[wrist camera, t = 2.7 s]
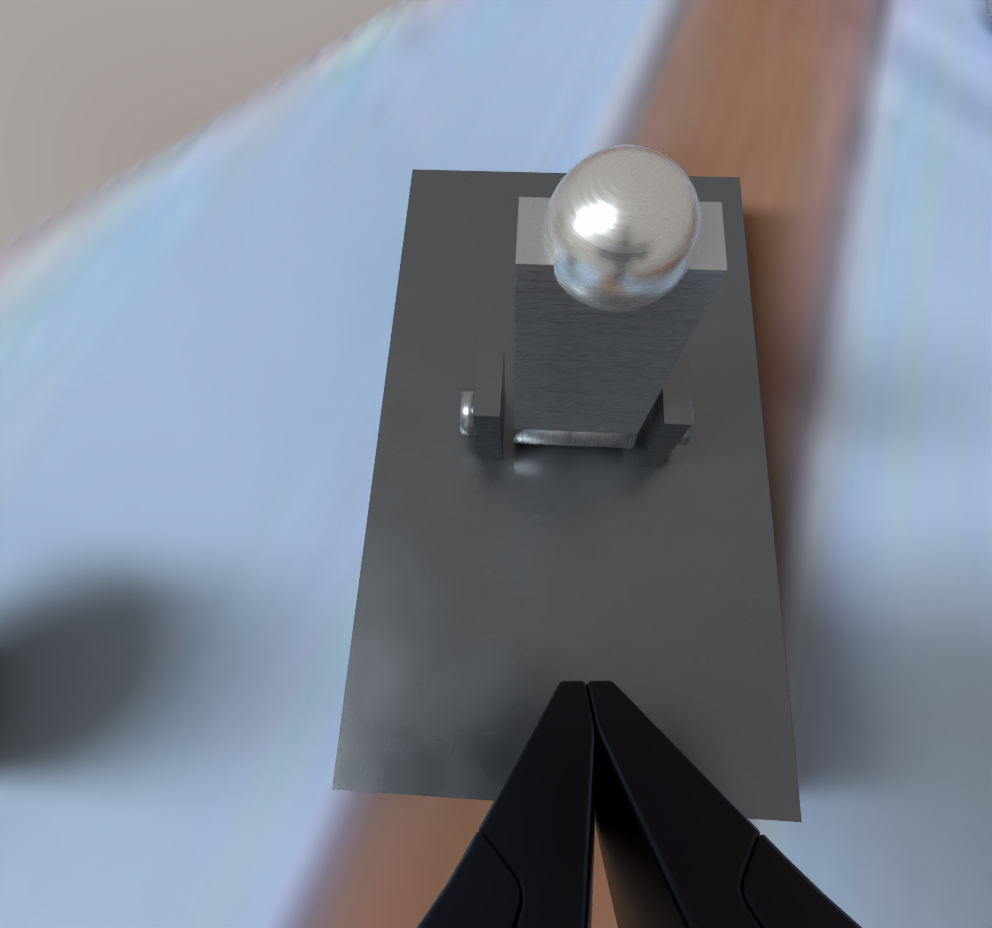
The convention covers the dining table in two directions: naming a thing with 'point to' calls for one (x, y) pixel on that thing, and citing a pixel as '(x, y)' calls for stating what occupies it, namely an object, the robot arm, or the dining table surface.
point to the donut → (989, 6)
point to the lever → (608, 295)
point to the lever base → (559, 534)
